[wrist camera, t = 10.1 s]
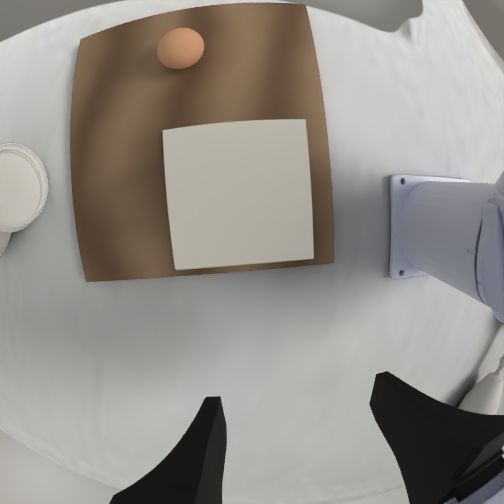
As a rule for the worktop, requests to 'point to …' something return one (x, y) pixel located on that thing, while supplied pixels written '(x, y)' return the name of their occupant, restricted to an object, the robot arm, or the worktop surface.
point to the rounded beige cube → (239, 192)
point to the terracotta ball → (180, 48)
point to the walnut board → (184, 125)
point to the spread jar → (20, 189)
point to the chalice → (485, 393)
